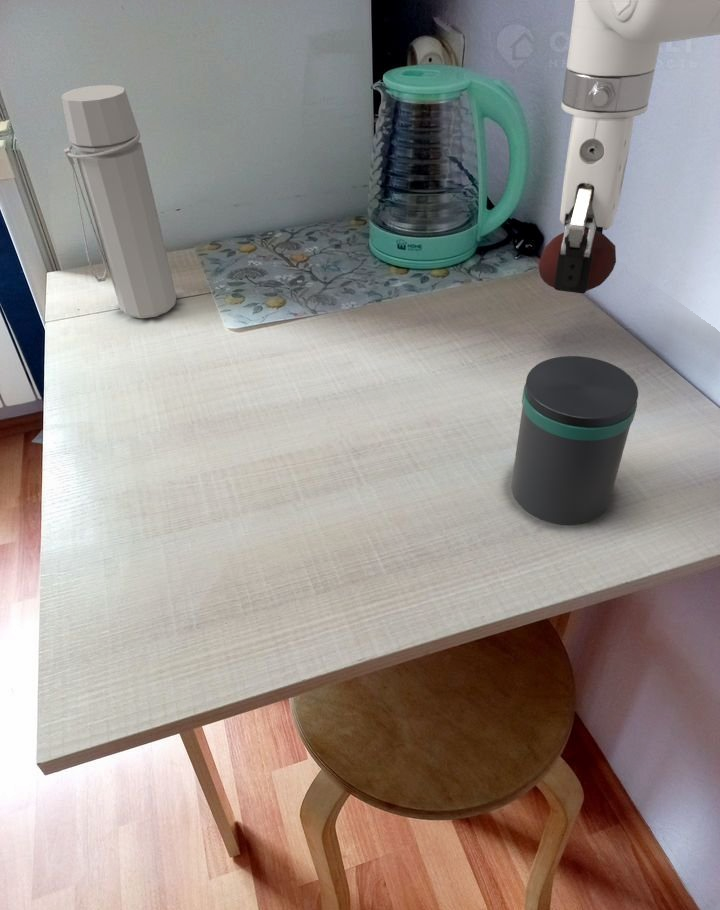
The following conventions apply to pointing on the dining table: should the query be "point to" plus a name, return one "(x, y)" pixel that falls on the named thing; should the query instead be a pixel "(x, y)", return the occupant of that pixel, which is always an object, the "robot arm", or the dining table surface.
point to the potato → (599, 268)
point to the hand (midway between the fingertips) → (576, 271)
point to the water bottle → (119, 198)
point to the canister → (572, 437)
